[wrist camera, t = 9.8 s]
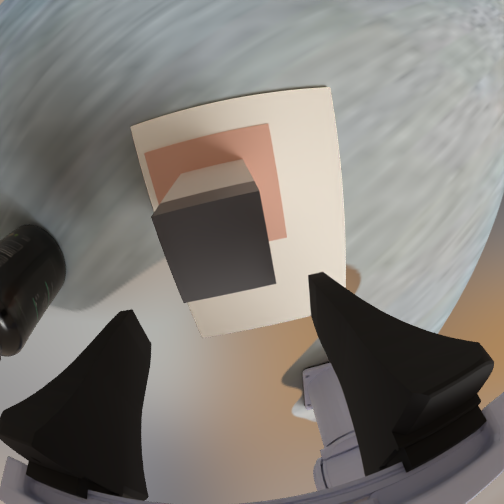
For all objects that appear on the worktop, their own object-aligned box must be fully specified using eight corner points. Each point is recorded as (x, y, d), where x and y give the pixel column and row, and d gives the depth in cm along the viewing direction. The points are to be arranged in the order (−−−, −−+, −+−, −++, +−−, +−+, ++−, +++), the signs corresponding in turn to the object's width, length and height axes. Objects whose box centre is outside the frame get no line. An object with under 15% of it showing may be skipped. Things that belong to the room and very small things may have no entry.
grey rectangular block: (254, 216, 18) (276, 283, 11) (196, 229, 18) (183, 303, 11) (242, 158, 16) (259, 190, 9) (180, 173, 16) (151, 216, 9)
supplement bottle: (5, 257, 18) (-65, 338, 7) (26, 206, 16) (-72, 286, 5) (53, 303, 20) (-2, 400, 10) (80, 259, 19) (5, 371, 8)
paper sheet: (343, 303, 24) (345, 307, 23) (202, 335, 24) (202, 339, 23) (327, 87, 15) (330, 87, 15) (132, 126, 15) (129, 126, 15)
